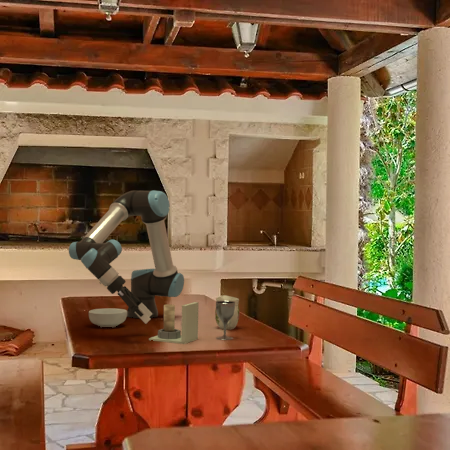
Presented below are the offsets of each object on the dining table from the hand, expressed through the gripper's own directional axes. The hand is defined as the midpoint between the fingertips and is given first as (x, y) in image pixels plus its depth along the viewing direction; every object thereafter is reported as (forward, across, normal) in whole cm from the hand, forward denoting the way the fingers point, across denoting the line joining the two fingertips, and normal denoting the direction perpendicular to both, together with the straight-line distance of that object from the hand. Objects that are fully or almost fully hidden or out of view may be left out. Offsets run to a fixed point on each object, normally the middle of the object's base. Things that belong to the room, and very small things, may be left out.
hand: (149, 318), depth 280 cm
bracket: (+13, +1, +1) cm, 13 cm away
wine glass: (+28, -3, +16) cm, 32 cm away
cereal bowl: (-8, -29, -20) cm, 36 cm away
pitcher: (+29, -27, +18) cm, 43 cm away
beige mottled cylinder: (+11, 0, +1) cm, 11 cm away
